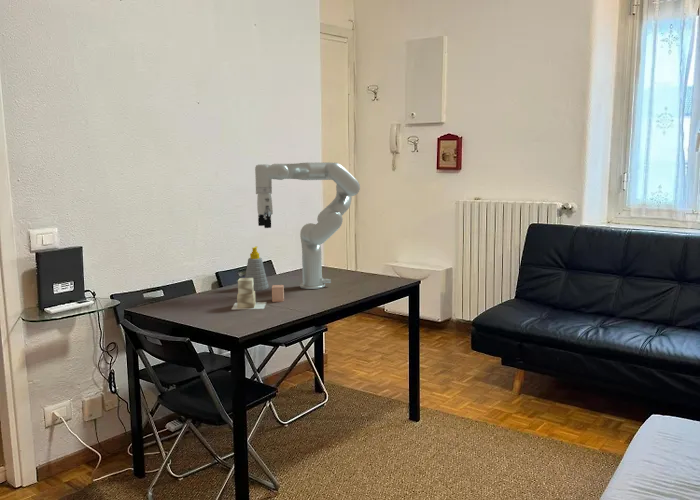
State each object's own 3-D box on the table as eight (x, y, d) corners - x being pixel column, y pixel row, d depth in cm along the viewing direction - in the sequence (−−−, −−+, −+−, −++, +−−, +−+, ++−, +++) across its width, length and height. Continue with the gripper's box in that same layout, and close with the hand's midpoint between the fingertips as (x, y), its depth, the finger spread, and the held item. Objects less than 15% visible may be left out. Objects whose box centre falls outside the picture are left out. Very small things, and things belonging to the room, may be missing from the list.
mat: (266, 302, 287) (266, 302, 287) (264, 309, 275) (264, 308, 275) (235, 303, 287) (235, 302, 287) (231, 310, 275) (231, 309, 275)
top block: (284, 299, 293) (283, 284, 292) (283, 302, 288) (282, 287, 287) (273, 300, 293) (272, 285, 292) (272, 302, 288) (271, 287, 287)
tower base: (255, 304, 284) (255, 290, 283) (253, 308, 277) (253, 294, 276) (239, 304, 283) (239, 291, 282) (237, 308, 276) (237, 294, 275)
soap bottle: (271, 285, 324) (269, 245, 321) (265, 290, 312) (264, 249, 309) (247, 285, 325) (245, 245, 322) (240, 290, 313) (238, 249, 310)
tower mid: (253, 291, 282) (253, 277, 281) (252, 294, 276) (251, 280, 275) (240, 291, 282) (239, 278, 281) (238, 294, 276) (237, 280, 275)
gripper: (277, 191, 297) (277, 228, 299) (266, 189, 312) (266, 224, 315) (261, 192, 294) (262, 229, 296) (251, 190, 309) (252, 225, 312)
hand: (264, 226), depth 306 cm, fingers open, 9 cm apart
